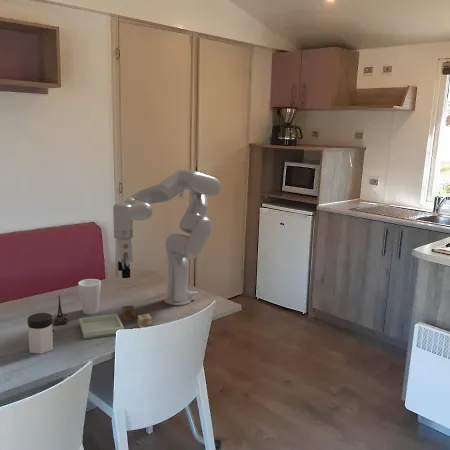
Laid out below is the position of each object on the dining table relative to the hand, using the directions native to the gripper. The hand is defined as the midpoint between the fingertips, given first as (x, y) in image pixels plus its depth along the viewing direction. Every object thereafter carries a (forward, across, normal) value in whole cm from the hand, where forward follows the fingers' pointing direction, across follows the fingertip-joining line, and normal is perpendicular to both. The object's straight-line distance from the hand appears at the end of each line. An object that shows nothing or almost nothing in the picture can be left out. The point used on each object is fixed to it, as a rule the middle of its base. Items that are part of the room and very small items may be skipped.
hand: (124, 274), depth 197 cm
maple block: (+19, -12, -6) cm, 23 cm away
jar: (+19, -19, +33) cm, 43 cm away
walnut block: (+19, -1, -2) cm, 19 cm away
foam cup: (+19, +11, +13) cm, 25 cm away
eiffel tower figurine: (+20, +2, +26) cm, 32 cm away
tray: (+19, -9, +11) cm, 23 cm away
